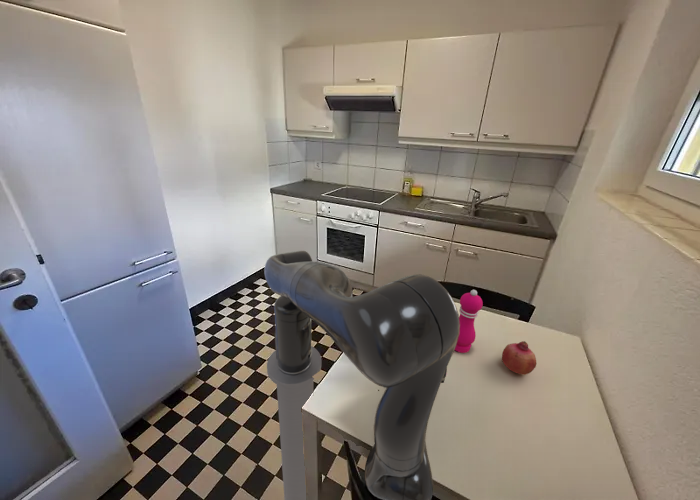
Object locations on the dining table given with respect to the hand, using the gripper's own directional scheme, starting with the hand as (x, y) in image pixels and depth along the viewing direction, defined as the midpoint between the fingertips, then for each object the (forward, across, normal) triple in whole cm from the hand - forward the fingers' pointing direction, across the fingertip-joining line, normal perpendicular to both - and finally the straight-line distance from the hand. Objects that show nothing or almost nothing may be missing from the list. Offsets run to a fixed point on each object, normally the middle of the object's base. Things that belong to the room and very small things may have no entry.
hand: (418, 341), depth 73 cm
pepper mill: (+15, -12, +10) cm, 22 cm away
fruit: (+10, -27, +10) cm, 30 cm away
